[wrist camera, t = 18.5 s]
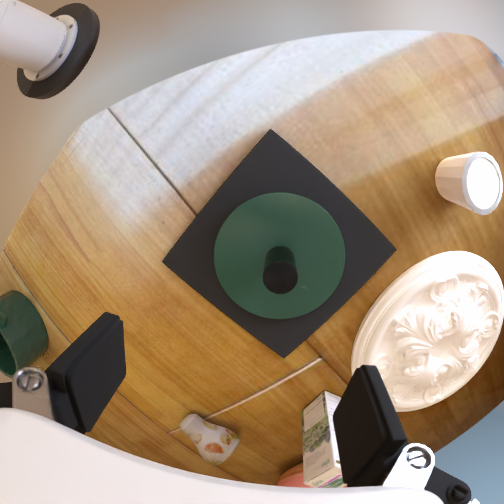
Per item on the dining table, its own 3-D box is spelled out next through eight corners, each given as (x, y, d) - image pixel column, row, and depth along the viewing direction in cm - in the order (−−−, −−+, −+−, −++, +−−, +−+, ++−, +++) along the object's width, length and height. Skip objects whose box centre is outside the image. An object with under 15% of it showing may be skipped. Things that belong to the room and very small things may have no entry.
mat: (163, 260, 35) (161, 261, 34) (270, 129, 30) (270, 128, 29) (283, 356, 37) (283, 358, 36) (395, 248, 32) (396, 249, 31)
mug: (190, 398, 41) (211, 447, 33) (232, 410, 46) (256, 452, 38) (166, 423, 41) (182, 470, 33) (208, 432, 46) (227, 473, 38)
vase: (356, 454, 42) (369, 527, 26) (323, 484, 46) (327, 547, 29) (293, 445, 42) (293, 528, 25) (265, 476, 46) (259, 545, 29)
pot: (0, 325, 43) (-26, 345, 34) (12, 266, 38) (-24, 284, 29) (39, 370, 44) (15, 394, 35) (58, 319, 39) (24, 346, 30)
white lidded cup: (452, 142, 27) (485, 138, 21) (477, 184, 28) (510, 190, 22) (421, 174, 29) (452, 176, 22) (448, 217, 30) (480, 228, 23)
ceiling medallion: (311, 379, 38) (313, 394, 35) (432, 210, 30) (445, 214, 27) (426, 421, 39) (431, 432, 36) (521, 301, 32) (532, 309, 29)
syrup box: (327, 421, 40) (337, 493, 26) (299, 410, 40) (302, 486, 26) (351, 400, 38) (369, 474, 25) (323, 388, 38) (334, 467, 24)
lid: (191, 261, 34) (172, 282, 27) (273, 164, 30) (273, 161, 23) (283, 335, 35) (283, 368, 29) (368, 252, 32) (388, 271, 25)
